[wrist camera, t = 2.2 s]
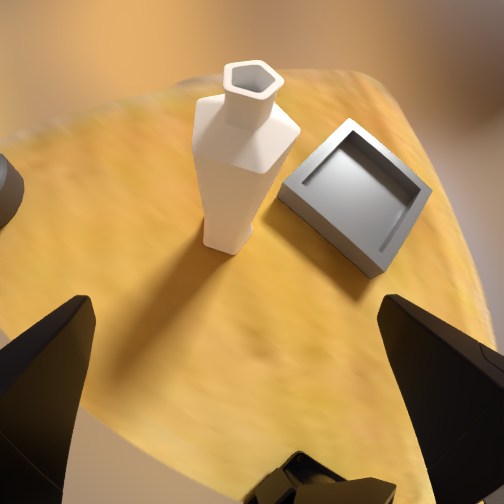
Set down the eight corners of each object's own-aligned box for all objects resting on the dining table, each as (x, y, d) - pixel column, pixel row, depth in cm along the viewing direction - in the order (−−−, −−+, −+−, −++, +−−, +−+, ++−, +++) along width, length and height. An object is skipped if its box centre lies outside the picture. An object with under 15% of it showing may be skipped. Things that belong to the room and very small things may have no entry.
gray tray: (418, 201, 27) (432, 190, 25) (370, 279, 24) (384, 272, 22) (340, 132, 28) (349, 117, 26) (276, 196, 25) (282, 182, 23)
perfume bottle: (183, 223, 24) (158, 68, 9) (230, 193, 25) (257, 32, 11) (218, 272, 23) (233, 151, 9) (265, 239, 24) (337, 100, 10)
